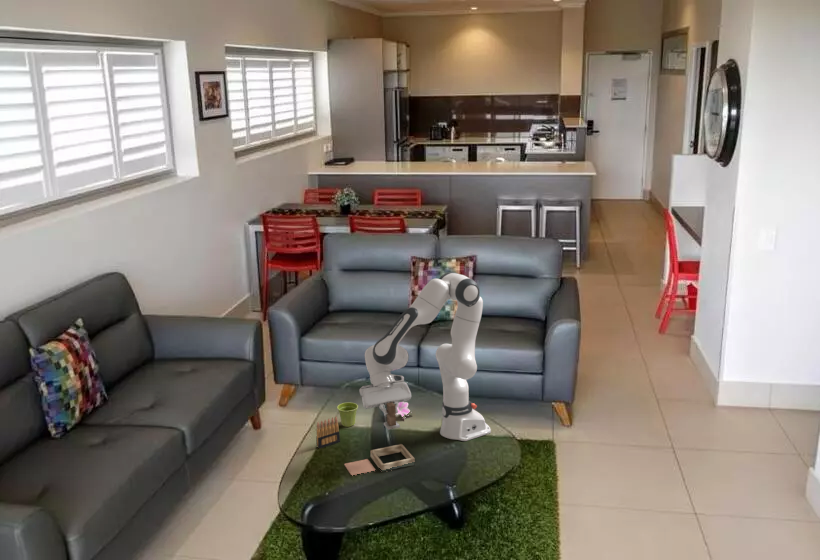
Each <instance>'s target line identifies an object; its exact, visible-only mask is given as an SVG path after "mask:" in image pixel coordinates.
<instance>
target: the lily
mask: <svg viewBox="0 0 820 560" xmlns="http://www.w3.org/2000/svg"><path fill="white" fill-rule="evenodd" d="M408 407H409V402H408V401H405V402H399V403H398V407H397V410H398V413H396V415H400V416H401V417H403V416H404V415H406V416H408V415H407V414H408V413H409V412H410V411H411V410H410V409H409V408H408Z"/></svg>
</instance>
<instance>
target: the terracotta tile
mask: <svg viewBox="0 0 820 560" xmlns="http://www.w3.org/2000/svg"><path fill="white" fill-rule="evenodd" d="M344 467H345V468H346V469H347V471H348V473H349V474H350V475H352V476H351V477H354V476H353V475H355V476H358V475H357V474H360V475H362V474H361V473H364V474H368V473H367V472H369V473H372V472H371V471H374V472H376V471H375V470H376V468H375V467H374V466H373V464H372V463H371V461H370V460H369V459H368V458H365V459H360V460H356V461H355V460H354V461H352V462H351V461H350V462H346V463H344Z"/></svg>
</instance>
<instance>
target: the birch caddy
mask: <svg viewBox="0 0 820 560" xmlns="http://www.w3.org/2000/svg"><path fill="white" fill-rule="evenodd" d="M399 453H401V454H402V456H404V459H401V460H400V459H399V460H395V461H391V462H386V463H383V461H382V460H381V458H380V457H382V456H389V455H393V454H399ZM370 458H371V460H372V461H373V462H374V463H375V465H376V466H377V468H378V469H379V468H380V469H381V470H386V469H390V468H392V467H397V466H402V465H404V464H408V463H412V462H416V461H415V457H414V456H413V455H412V454H411V453H410V451H409V450H408V449H407V448H406V447H405V445H403V444H402V443H399V444H395V445H390V446H385V447H380V448H375V449H370ZM380 469H379V470H380ZM381 470H380V471H381Z"/></svg>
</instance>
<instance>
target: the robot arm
mask: <svg viewBox="0 0 820 560" xmlns="http://www.w3.org/2000/svg"><path fill="white" fill-rule="evenodd" d="M448 300H453V301H456V304H457V308H456V311H455V314H454V318H453V321H452V324H451V329H450V338H451V343H443V344H440V345H439V346H438V347H437V349H436V351H435V359H436V361H437V363H438V367H439V372H440V377H441V381H442V392H443V394H442V395H443V397H442V405H441V407H442V408H441V410H442V421H441V427H440V430H439V434H440V435H441V436H442V437H444V438H447V439H450V440H458V441H462V442H467V441H470V440H473V439H476V438H479V437H482V436H485V435H488V434H489V435H490V433H492V428H491V427H490V425H488V423H486V420H485V418H484V416H483V415H482V414H481V413H480V412H478V411H477V410H476V409H477V407H478V405H477V404H475V402H474V403H473V402H472V401H470V400H469V399H470V397H469V396H470V395H469V390H470V389H469V388H470V387H469V383H468V380H469V379H470V380H471V379H472V378H473V377H474V376H475V374H476V373H477V370H478V365H477V361H476V339H477V334H478V330H479V326H480V323H481V319H482V314H483V309H484V300H483V297H481V296H480V287H479V284H478V283H477V282H476V281H475V280H474V279H472V278H470V277H469V276H466V275H465V274H460V273H457V272H454V271H448V272H445V273H444V274H442V275H440V277H439V278H433V279H432V278H431V280H429V281H428V282H427V284H425V286H424V287H423V288H422V289H421V291H419V293H418V295H417V296H416V298H415V300H414V301H413V303H412V304H411V305H410V306H409V307H407V309H406V310H405V309H404V311H403V312H402V313H401V314H400V315H399V317H398V318H397V320H396V321H395V322H394V323H393V324H392V325H391V327H390V328H389V330H387V333H386V334H384V335H383V336H382V337H381V338H380V339H378V340H377V341H376V343H375V344H373V345H370V346H369V347H368V348H366V350H365V351H364V360H365V361H364V362H365V366H366V370H367V372H368V374H369V380H370V384H369V385H363V386H361V387H360V388H359V392H358V393H359V395H360V397H361V400H362V401H361V402H362V406H363V408H364V409H371V408H377V407H379V410H381V412H383V415H384V416H387V415H388V414H389V412H388V410H387V408H385V407H384V406H387V403H391V402H393V403H394V404H395V406H396V413H398V410H397V407H398V403H399V402H408V401H410V400H411V398H412V392H411V389H410V388H409V385H408V383H407V382H405V377H404V376H403V375H398V374H392V373H391V372H392V371H397V370H400V369H403V368H404V367H406V365H407V364H408V362H409V358H410V357H409V352H408V350H407V349H406V348H405V347H403V346H401V345H399V343H400V342H401V341H402V340H403V339H404V337H405V335H406V334H407V333H408V332H409V330H411V328H414V327H416V326H417V325H418V326H419V325H427V324H430V323H432V322H433V321H434V320H435V319H436V318H437V316H438V315H439V314H440V311H441V310H442V308H443V307H444V305H445V303H446V302H447V301H448Z"/></svg>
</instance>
